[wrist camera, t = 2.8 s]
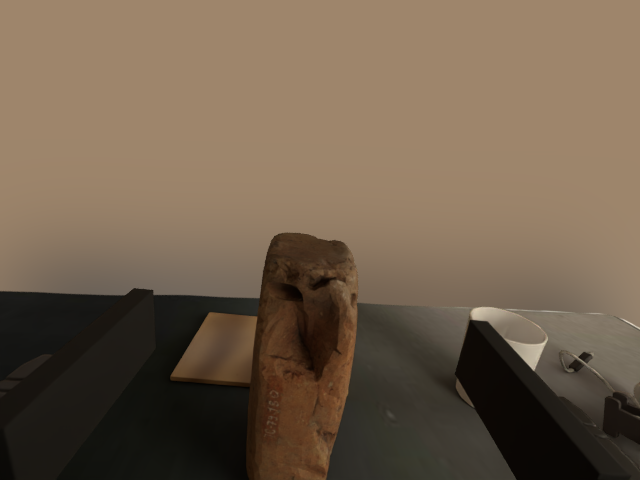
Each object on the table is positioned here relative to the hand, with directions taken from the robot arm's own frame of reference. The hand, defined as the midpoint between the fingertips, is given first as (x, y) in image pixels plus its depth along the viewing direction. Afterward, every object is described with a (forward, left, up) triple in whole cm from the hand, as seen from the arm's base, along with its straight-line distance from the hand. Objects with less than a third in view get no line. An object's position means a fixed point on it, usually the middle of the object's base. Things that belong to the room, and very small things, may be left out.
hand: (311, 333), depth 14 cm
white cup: (+23, +21, -20) cm, 37 cm away
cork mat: (-4, +26, -20) cm, 33 cm away
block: (0, +11, -20) cm, 23 cm away
